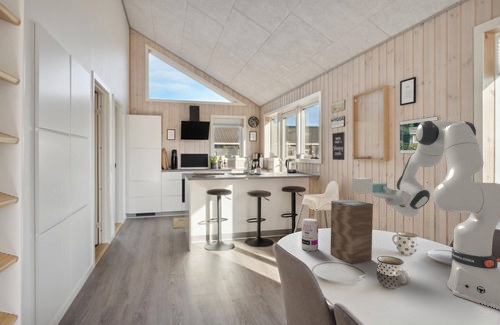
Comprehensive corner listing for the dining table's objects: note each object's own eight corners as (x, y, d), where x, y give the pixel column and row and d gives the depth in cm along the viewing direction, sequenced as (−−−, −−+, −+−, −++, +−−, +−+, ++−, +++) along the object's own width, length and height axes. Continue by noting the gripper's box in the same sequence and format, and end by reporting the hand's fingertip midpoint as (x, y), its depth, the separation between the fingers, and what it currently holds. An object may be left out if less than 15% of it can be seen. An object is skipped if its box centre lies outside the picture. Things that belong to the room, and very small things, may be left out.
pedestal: (371, 260, 137) (372, 203, 136) (352, 264, 132) (353, 205, 131) (349, 250, 149) (350, 199, 149) (330, 254, 144) (331, 200, 143)
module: (388, 191, 147) (388, 177, 147) (360, 194, 139) (360, 179, 138) (379, 190, 151) (380, 176, 151) (352, 192, 143) (352, 178, 143)
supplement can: (316, 246, 156) (317, 218, 155) (318, 251, 148) (319, 221, 147) (301, 245, 157) (301, 217, 156) (302, 251, 149) (302, 221, 148)
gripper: (380, 190, 163) (364, 179, 157) (415, 196, 145) (399, 183, 139) (375, 201, 162) (360, 189, 156) (410, 207, 144) (394, 195, 138)
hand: (378, 186), depth 147 cm, fingers closed on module, 3 cm apart
